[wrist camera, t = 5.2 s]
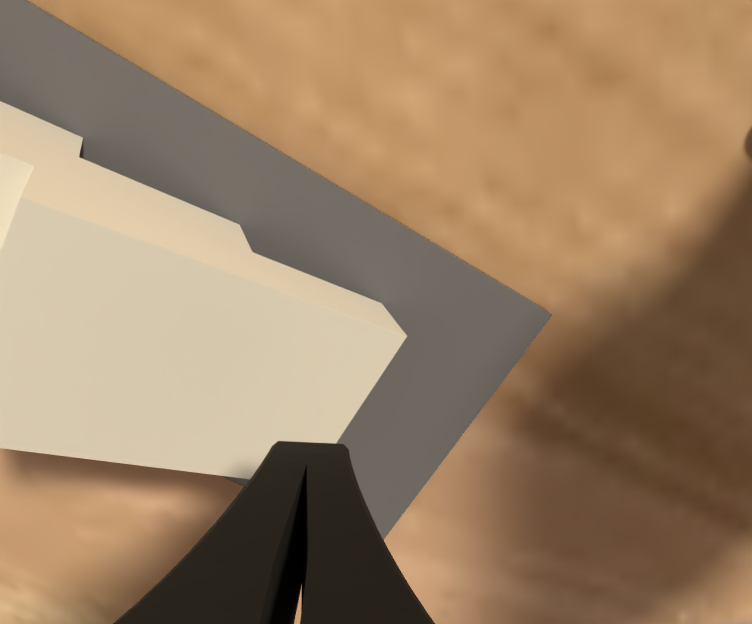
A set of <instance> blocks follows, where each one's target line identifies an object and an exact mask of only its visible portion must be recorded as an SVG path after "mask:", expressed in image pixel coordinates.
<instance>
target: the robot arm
mask: <svg viewBox="0 0 752 624" xmlns="http://www.w3.org/2000/svg"><path fill="white" fill-rule="evenodd" d="M301 585H302V614H301V621H300V624H435V623H434V622H433V620H432V619H431V617H430V616H429V615H428V613H427V612H426V610H425V609H424V607H423V606H422V604H421V603H420V601H419V600H418V598H417V597H416V595H415V594H414V592H413V591H412V589H411V588H410V586H409V584H408V583H407V581H406V579H405V578H404V576H403V574H402V573H401V571H400V569H399V568H398V566H397V564H396V562H395V561H394V559H393V557H392V555H391V553H390V552H389V550H388V548H387V546H386V544H385V542H384V540H383V539H382V537H381V535H380V533H379V531H378V529H377V527H376V524H375V522H374V520H373V518H372V516H371V513H370V511H369V509H368V507H367V505H366V503H365V500H364V498H363V495H362V493H361V490H360V488H359V485H358V482H357V479H356V477H355V473H354V470H353V467H352V463H351V459H350V454H349V449H348V448H347V447H346V446H345V445H344V444H335V443H313V442H292V441H278V442H276V443H275V444H274V445H273V446H272V447H271V449H270V450H269V452H268V454H267V455H266V457H265V458H264V460H263V461H262V463H261V464H260V466H259V467H258V469H257V470H256V472H255V473H254V474H253V476H252V477H251V479H250V480H249V481H248V483H247V484H246V485H245V487H244V488H243V489H242V491H241V492H240V493H239V494H238V496H237V497H236V498H235V499H234V501H233V502H232V503H231V504H230V506H229V507H228V508H227V510H226V511H225V512H224V513H223V514H222V516H221V517H220V518H219V519H218V520H217V522H216V523H215V524H214V525H213V526H212V527H211V528H210V529H209V530H208V532H207V533H206V534H205V535H204V536H203V537H202V538H201V539H200V541H199V542H198V543H197V544H196V545H195V546H194V547H193V548H192V549H191V551H190V552H189V553H188V554H187V555H186V556H185V557H184V558H183V559H182V560H181V561H180V562H179V563H178V564H177V565H176V566H175V567H174V568H173V569H172V570H171V571H170V572H169V573H168V574H167V575H166V576H165V577H164V578H163V579H162V580H161V581H160V582H159V583H158V584H157V585H156V586H155V587H154V588H153V589H152V590H150V591H149V592H148V593H147V594H146V595H145V596H144V597H143V598H142V599H141V600H140V601H139V602H138V603H136V604H135V605H134V606H133V607H132V608H131V609H130V610H128V611H127V612H126V613H125V614H124V615H123V616H122V617H120V618H119V619H118V620H117V621H116V622H115V623H113V624H294V620H295V615H296V610H297V605H298V600H299V595H300V590H301Z"/></svg>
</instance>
